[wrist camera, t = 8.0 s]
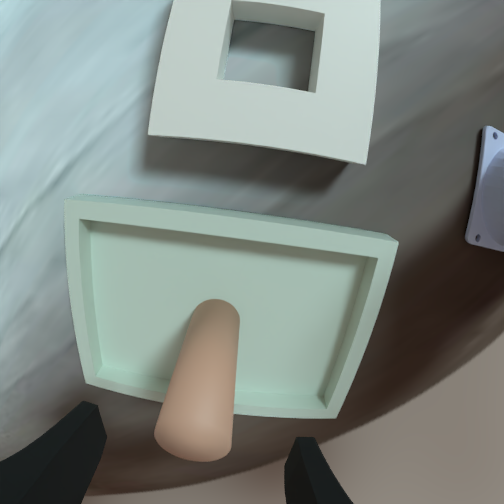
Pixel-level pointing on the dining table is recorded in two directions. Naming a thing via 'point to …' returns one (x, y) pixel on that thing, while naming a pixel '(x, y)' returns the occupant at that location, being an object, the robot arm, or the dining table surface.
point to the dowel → (202, 387)
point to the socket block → (267, 96)
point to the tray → (223, 298)
